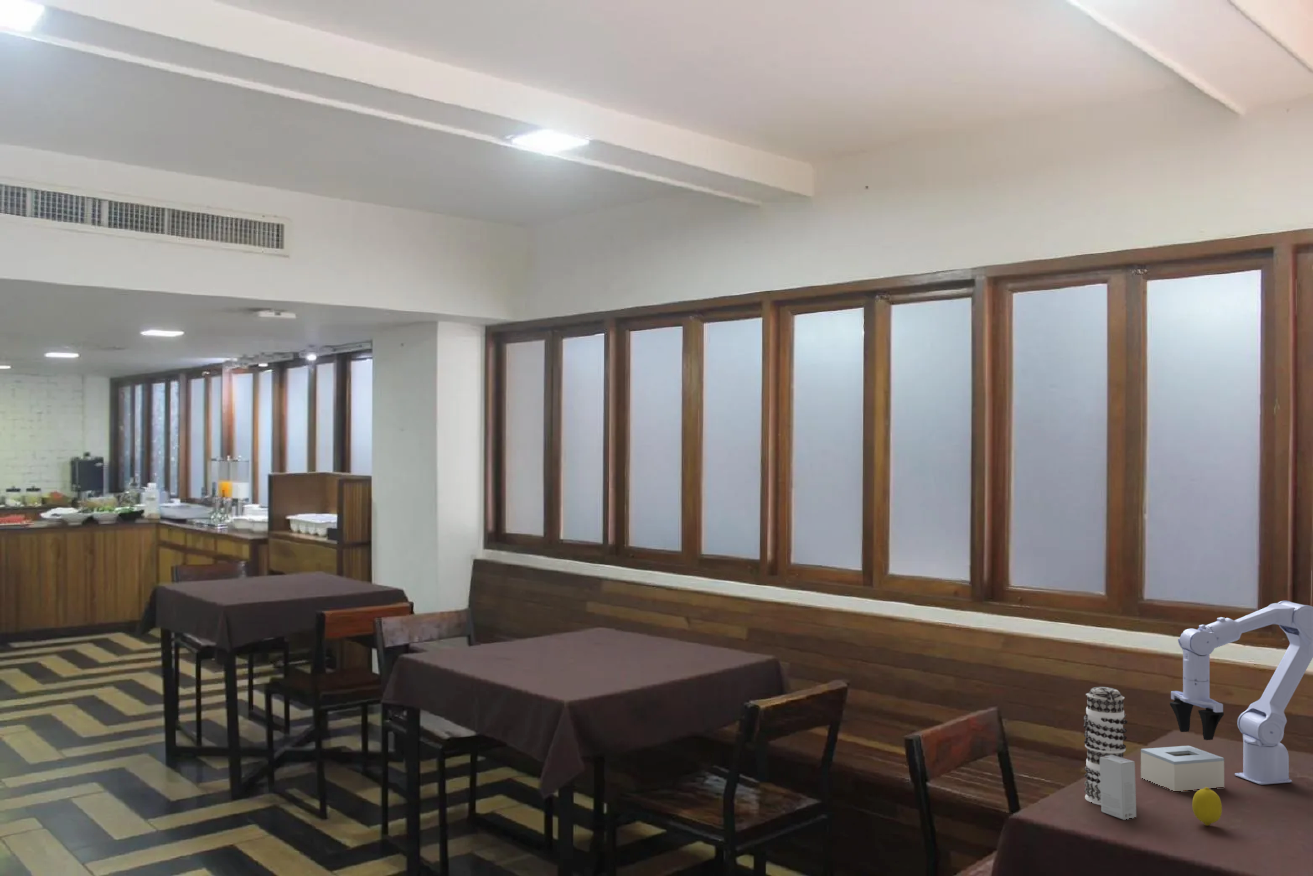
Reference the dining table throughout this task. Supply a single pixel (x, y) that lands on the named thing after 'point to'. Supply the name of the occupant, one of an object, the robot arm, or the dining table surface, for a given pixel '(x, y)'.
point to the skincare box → (1118, 787)
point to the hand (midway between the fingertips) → (1196, 735)
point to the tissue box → (1182, 768)
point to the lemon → (1207, 806)
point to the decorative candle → (1102, 735)
